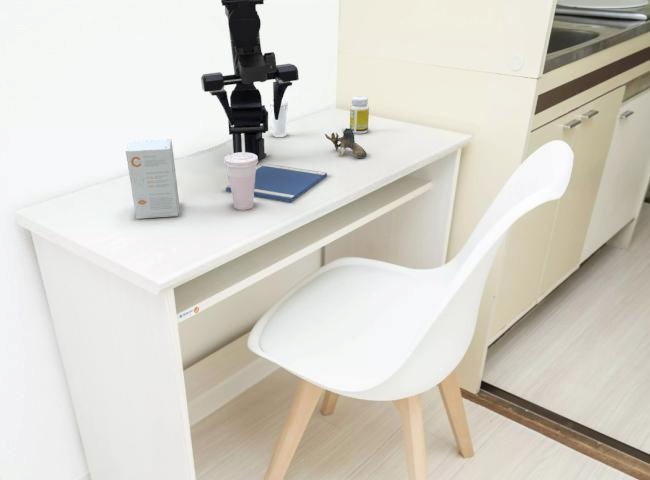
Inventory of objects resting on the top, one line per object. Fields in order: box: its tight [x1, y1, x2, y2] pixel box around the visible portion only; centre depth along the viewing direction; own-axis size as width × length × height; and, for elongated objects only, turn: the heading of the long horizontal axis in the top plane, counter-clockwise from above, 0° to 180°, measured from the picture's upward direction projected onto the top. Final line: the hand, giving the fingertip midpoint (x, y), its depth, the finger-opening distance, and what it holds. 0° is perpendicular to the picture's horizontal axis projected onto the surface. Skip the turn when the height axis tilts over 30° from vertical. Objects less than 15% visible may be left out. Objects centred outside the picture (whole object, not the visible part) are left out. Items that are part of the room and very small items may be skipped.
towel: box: [225, 163, 328, 204], centre depth 136 cm, size 15×17×1 cm
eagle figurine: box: [324, 127, 368, 160], centre depth 151 cm, size 8×7×9 cm
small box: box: [125, 138, 180, 220], centre depth 121 cm, size 8×6×13 cm
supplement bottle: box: [349, 95, 370, 135], centre depth 166 cm, size 5×5×8 cm
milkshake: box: [269, 98, 289, 138], centre depth 164 cm, size 4×5×10 cm
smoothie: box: [223, 133, 259, 211], centre depth 123 cm, size 6×6×14 cm
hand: (254, 122), depth 132 cm, fingers open, 9 cm apart
